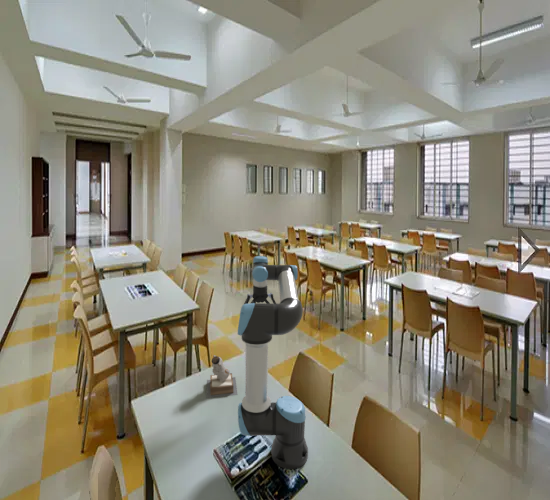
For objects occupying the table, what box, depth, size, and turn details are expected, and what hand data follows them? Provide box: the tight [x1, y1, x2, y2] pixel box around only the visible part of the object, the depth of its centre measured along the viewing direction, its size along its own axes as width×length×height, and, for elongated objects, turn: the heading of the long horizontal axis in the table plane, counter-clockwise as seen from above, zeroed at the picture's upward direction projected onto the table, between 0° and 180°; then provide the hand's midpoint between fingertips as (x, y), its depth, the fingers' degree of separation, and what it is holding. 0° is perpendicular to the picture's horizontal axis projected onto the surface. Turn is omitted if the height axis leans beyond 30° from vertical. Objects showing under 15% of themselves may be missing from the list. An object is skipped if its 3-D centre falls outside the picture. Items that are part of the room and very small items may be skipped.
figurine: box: [211, 354, 230, 382], centre depth 167 cm, size 9×10×15 cm
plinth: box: [209, 373, 234, 395], centre depth 169 cm, size 12×12×4 cm
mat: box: [206, 376, 238, 399], centre depth 170 cm, size 16×16×1 cm
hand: (259, 323), depth 168 cm, fingers open, 13 cm apart
